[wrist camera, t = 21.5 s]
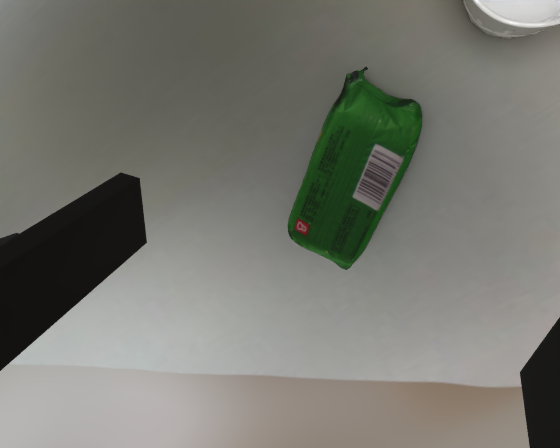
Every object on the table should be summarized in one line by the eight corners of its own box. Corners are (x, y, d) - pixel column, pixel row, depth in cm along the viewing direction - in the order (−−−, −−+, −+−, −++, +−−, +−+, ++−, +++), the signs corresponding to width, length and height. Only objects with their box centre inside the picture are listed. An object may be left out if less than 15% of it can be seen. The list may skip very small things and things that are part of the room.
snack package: (440, 101, 31) (440, 102, 27) (358, 265, 38) (346, 289, 33) (356, 68, 33) (342, 64, 28) (291, 231, 39) (270, 250, 34)
